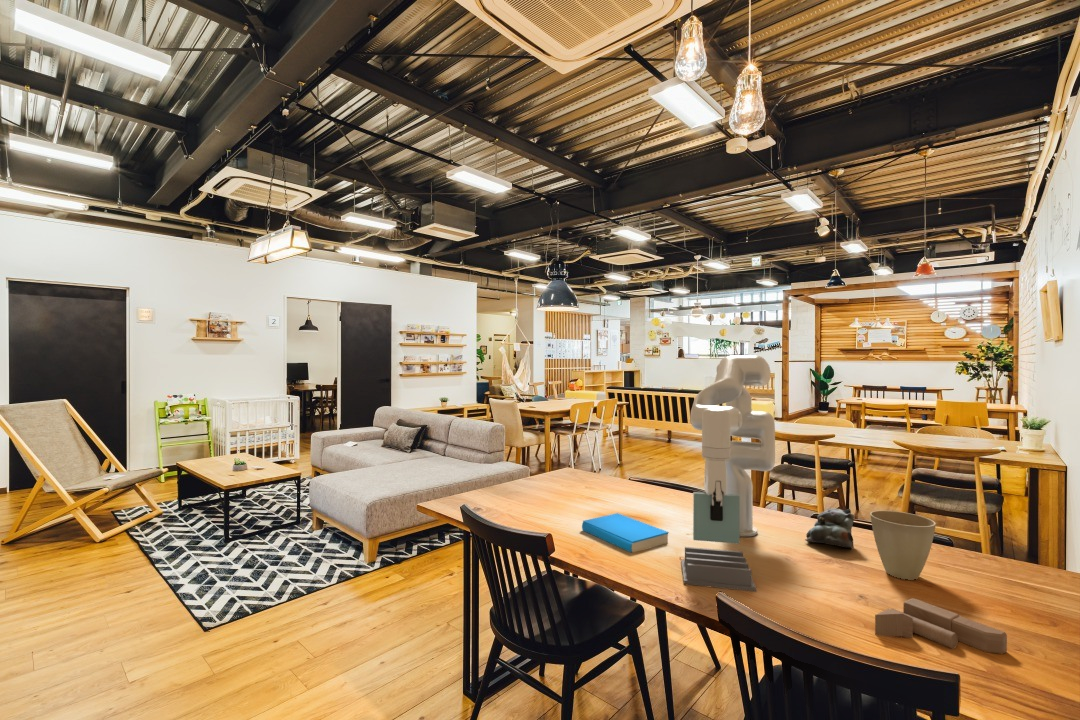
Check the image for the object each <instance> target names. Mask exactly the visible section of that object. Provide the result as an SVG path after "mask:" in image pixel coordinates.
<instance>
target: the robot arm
mask: <svg viewBox="0 0 1080 720" xmlns="http://www.w3.org/2000/svg"><path fill="white" fill-rule="evenodd" d="M771 373H772V372H771V368H770V365H769V363H768V362H767V360H766V359H765V358H764V357H762V356H759V355H728V356H725V357H723V358H722V359H721V360H720V361H719V363H718V365H717V366H716V375H715V379H714V383H711V384H710V385H708V386H706V387H705V388H703V389H702V390H701V391H699V392H698V393H697V394H696V396H695V397H694V400H693V403H692V407H691V410H690V416H689V418H690V419H689V421H690V424H691V427H693V428H694V429H695V430H698V431H701V458H702V459H705V460H704V480H703V481H704V482H703V483H704V484H703V485H704V486H703V487H704V488H703V489H704V493H706V494H707V495H708V496H710V495H711V505H710V519H711V520H713V521H723V506H722V496H723V497H724V496H725V495H726V494H734V495H739V537H742V538H743V537H748V538H749V537H755V536H756V535H757V534H758V528H757V527H755V526H754V525H753V523H754V522H753V515H754V514H753V503H754V501H753V490H754V489H753V488H754V487H753V480H752V479H751V477H750V475H749V474H748V473H747V470H748V471H749V470H752V471H759V472H760V471H761V472H770V471H772V470H773V469H774V467H775V463H776V426H775V425H776V423H775V419H774V417H773V416H774V415H773V414H772V413H770V412H767V411H760V410H759V411H756V410H753V409H752V401H753V400H752V396H751V393H750V392H749V391H748V389H747V388H746V386H749V387H754V386H755V387H764V386H767V385H768V384H769V383H770V379H771ZM723 404H725V406H724V405H723ZM731 437H735V438H744V439H757V440H759V441H760V442H754V441H753V442H751V441H744V440H743V441H740V440H731ZM713 493H716V494H713Z"/></svg>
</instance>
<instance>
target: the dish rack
mask: <svg viewBox="0 0 1080 720" xmlns="http://www.w3.org/2000/svg"><path fill="white" fill-rule="evenodd" d="M746 561H747V559H746V557H745V556H744V552H743V551H740V550H730V549H728V550H727V549H715V548H705V547H704V548H703V547H690V546H684V559H683V558H681V560H680V564H681V571H682V572H681V573H682V579H683V584H684V585H686V584H688V585H687V586H689V585H690V586H696V585H697V586H699V587H706V586H711V587H710V588H716V587H718V588H717V589H728V590H739V591H747V592H748V591H749V592H757V586H756V584H755V581H754V580H753V578H752V569H751V568H749V566H750V565H749V562H746Z"/></svg>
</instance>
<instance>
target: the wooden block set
mask: <svg viewBox="0 0 1080 720" xmlns="http://www.w3.org/2000/svg"><path fill="white" fill-rule="evenodd" d="M902 607H903V612H902V611H900V610H897V609H896V608H895V609H894V608H887V609H884V610H882V611H880V612H878V613H876V614H875V615H874V619H875V620H874V622H875V623H874V635H876V636H883V637H891V636H892V638H901V637H902V639H913V638H914V637H913V636H914V635H913V634H915V635H918V636H921V637H923V638H925V639H928V640H930V641H933V642H934V643H938V644H940V645H943V646H945V647H947V648H949V649H956V647H957V645H958V642H960V643H962V644H965V645H966V646H969V647H973V648H974V649H977V650H980V651H983V652H984V651H985V653H991V654H997V653H999V655H1002V654H1004V653H1006V652H1007V650H1008V640H1007V639H1008V634H1007V633H1006V632H1005V631H1003V630H1000V629H997V628H995V627H992V626H989V625H986V624H984V623H982V622H981V623H980V622H978V621H975V620H972V619H970V618H966V617H963V616H961V615H960V614H958V613H957V612H953V611H950V610H948V609H946V608H945V609H944V608H943V607H939V606H936V605H933V604H931V603H928V602H926V601H923V600H920V599H917V598H915V597H913V598H910V599H908V600H907V599H906V600H905V601H903V606H902Z"/></svg>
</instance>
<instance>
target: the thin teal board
mask: <svg viewBox="0 0 1080 720" xmlns="http://www.w3.org/2000/svg"><path fill="white" fill-rule="evenodd" d="M692 493H693V494H692V495H693V496H692V497H693V498H692V501H693V503H692V504H693V505H692V506H693V509H692V516H693V517H692V522H693V524H692V525H693V526H692V530H693V531H692V532H693V533H692V534H693V537H692V539H693V541H701V542H702V541H703V542H712V543H713V542H714V543H722V544H724V543H726V544H737V545H740V536H739V495H734V494H726V495H725V496H724V497H723V496H722V506H723V521H713V520H711V519H710V505H711V495H710V496H708V495H707V494H706V492H700V491H698V492H697V491H693V492H692ZM713 494H716V493H713Z"/></svg>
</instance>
